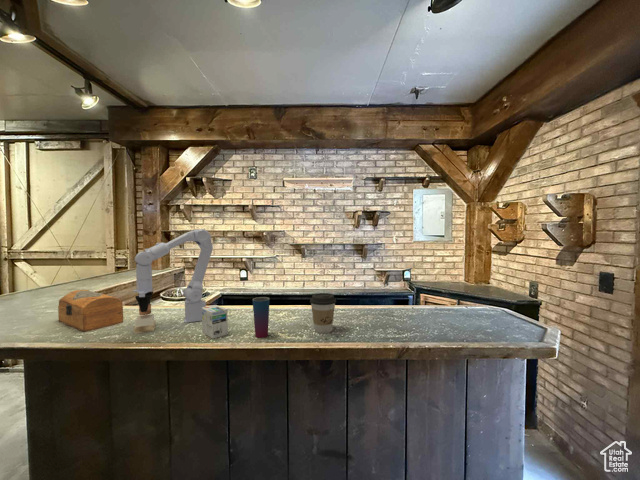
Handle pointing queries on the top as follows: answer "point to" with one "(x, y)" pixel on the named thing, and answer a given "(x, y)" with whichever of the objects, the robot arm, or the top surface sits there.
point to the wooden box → (89, 310)
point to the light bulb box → (214, 321)
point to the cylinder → (147, 310)
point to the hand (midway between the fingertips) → (145, 310)
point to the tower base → (145, 328)
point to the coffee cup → (323, 311)
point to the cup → (261, 316)
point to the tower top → (144, 320)
